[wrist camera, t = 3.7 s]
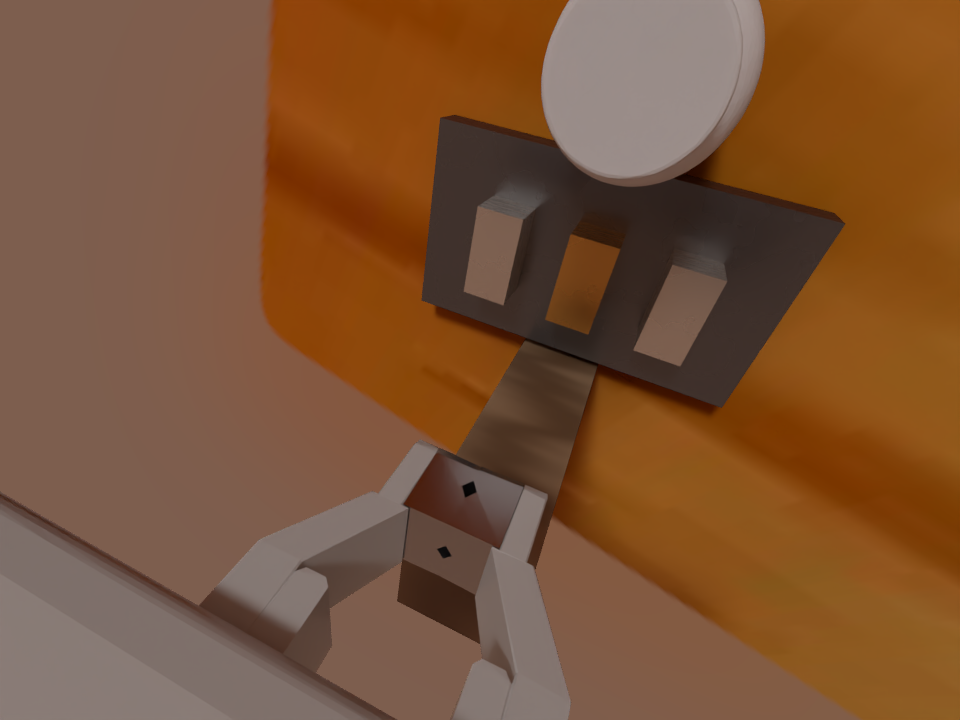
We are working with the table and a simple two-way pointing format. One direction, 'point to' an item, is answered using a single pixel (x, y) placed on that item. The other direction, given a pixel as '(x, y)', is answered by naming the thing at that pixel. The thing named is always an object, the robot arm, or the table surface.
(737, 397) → the table surface
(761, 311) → the breaker strip
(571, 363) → the walnut post
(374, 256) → the table surface
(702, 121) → the pill bottle
